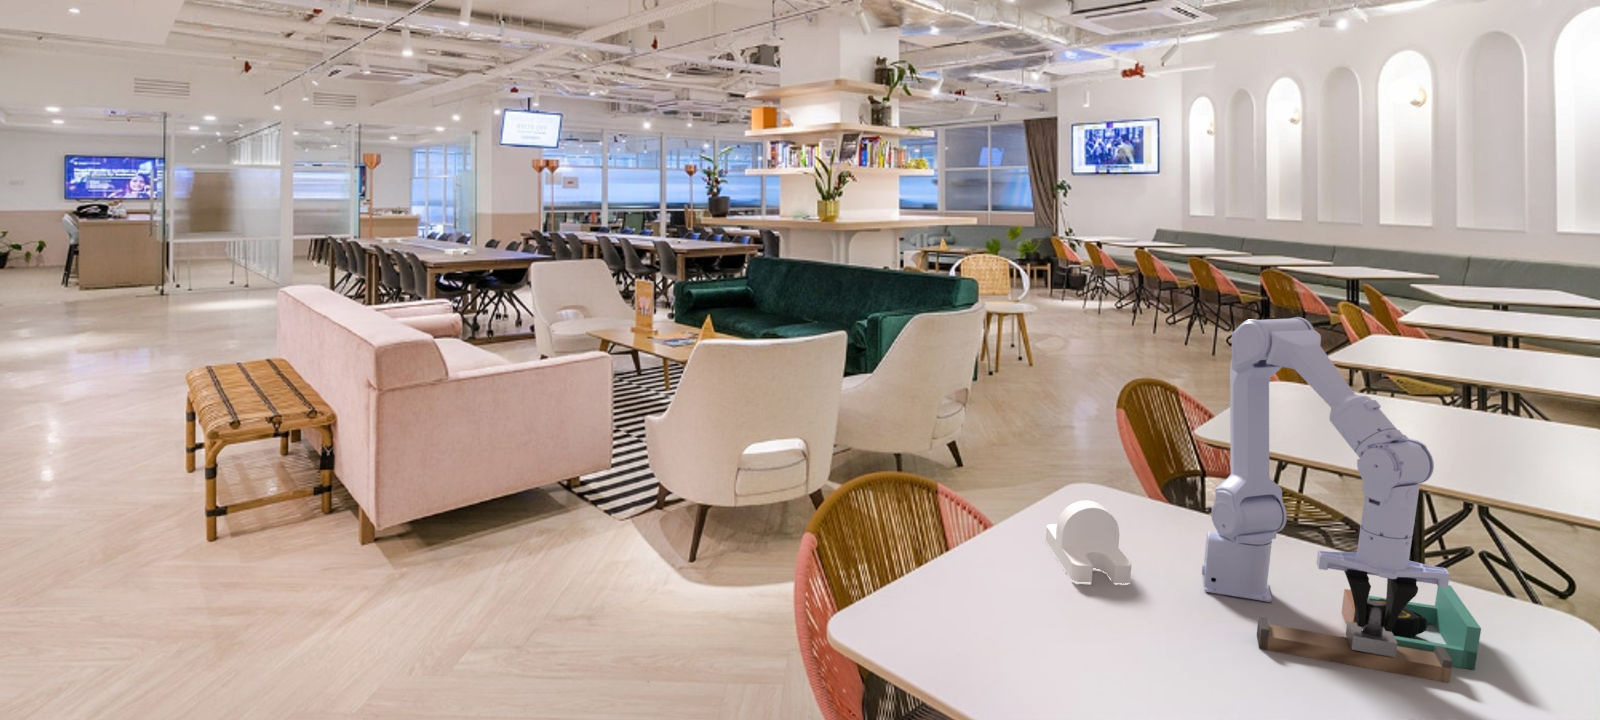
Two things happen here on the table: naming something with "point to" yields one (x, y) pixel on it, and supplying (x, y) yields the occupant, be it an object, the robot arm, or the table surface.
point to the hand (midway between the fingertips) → (1373, 625)
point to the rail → (1353, 652)
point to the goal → (1447, 627)
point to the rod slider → (1368, 628)
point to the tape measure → (1408, 623)
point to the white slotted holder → (1088, 543)
